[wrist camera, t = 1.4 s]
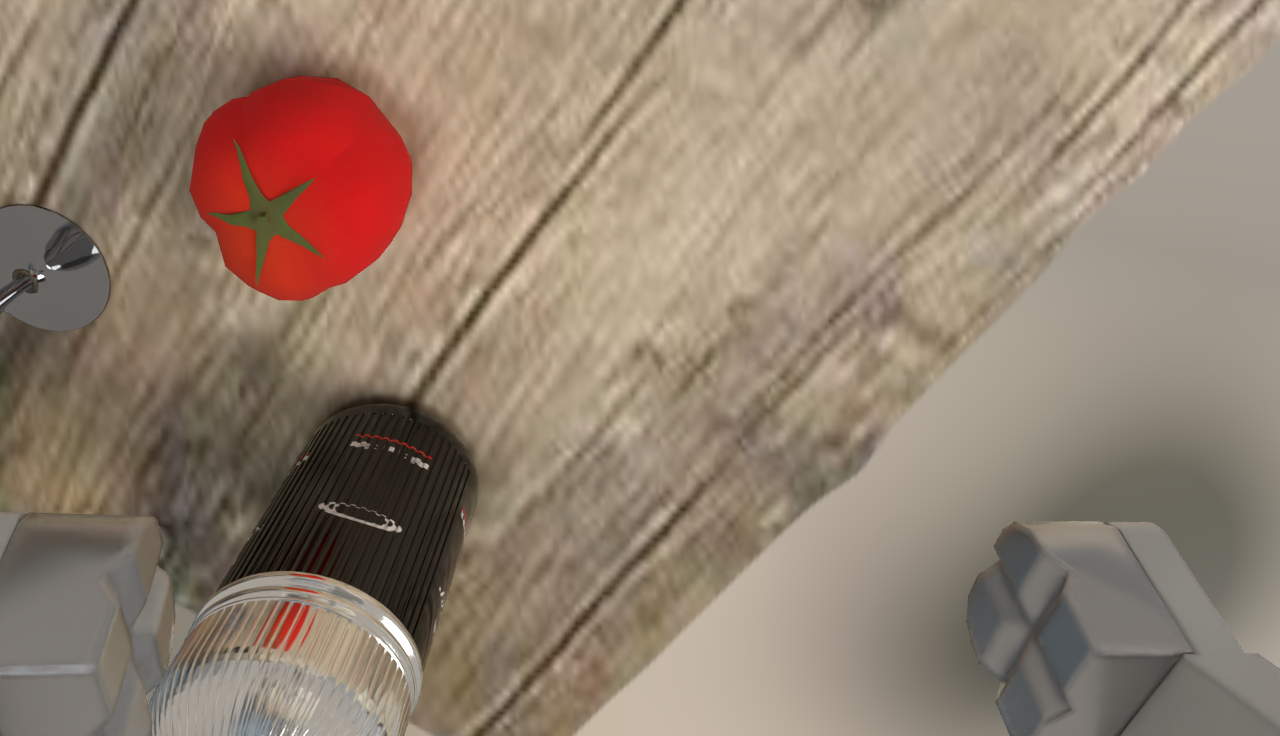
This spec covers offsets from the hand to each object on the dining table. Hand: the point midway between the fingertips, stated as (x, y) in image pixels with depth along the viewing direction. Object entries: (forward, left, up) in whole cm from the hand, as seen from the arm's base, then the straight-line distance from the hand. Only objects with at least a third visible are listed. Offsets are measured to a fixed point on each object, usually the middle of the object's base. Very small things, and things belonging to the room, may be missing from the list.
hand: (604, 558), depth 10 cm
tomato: (+19, 0, -41) cm, 45 cm away
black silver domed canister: (+27, +16, -41) cm, 52 cm away
